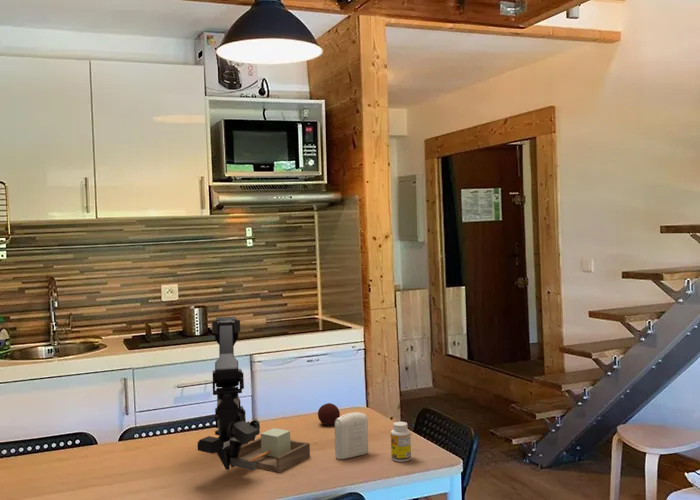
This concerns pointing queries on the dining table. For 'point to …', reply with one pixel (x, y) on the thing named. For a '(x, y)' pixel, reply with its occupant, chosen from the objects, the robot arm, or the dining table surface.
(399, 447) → the supplement bottle
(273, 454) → the corded block
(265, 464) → the brown wooden tray
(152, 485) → the dining table surface
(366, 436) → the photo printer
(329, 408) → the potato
